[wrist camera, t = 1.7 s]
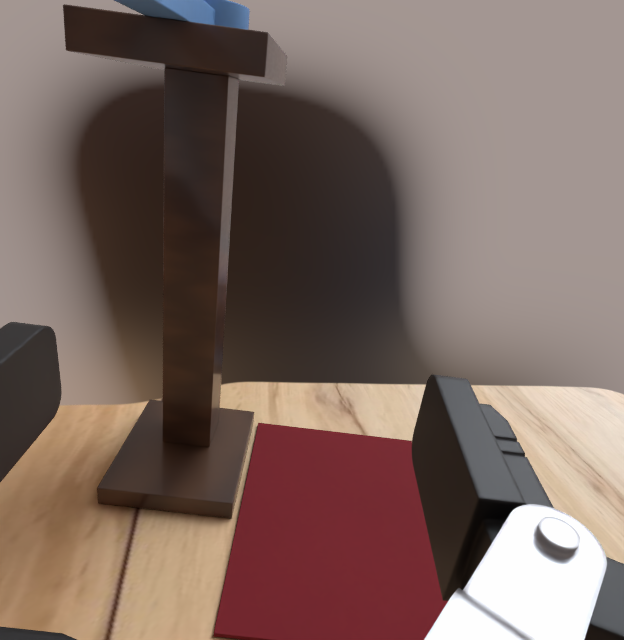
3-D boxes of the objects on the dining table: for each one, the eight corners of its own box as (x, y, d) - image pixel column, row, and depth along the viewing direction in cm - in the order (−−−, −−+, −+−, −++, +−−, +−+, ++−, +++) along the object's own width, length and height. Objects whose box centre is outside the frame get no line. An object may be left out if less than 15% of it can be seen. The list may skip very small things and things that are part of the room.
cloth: (213, 636, 29) (213, 633, 29) (258, 425, 49) (258, 422, 48) (465, 663, 30) (466, 660, 30) (410, 443, 49) (411, 440, 49)
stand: (95, 508, 37) (62, 4, 24) (151, 409, 49) (149, 36, 36) (230, 523, 37) (268, 32, 24) (253, 421, 49) (287, 55, 36)
